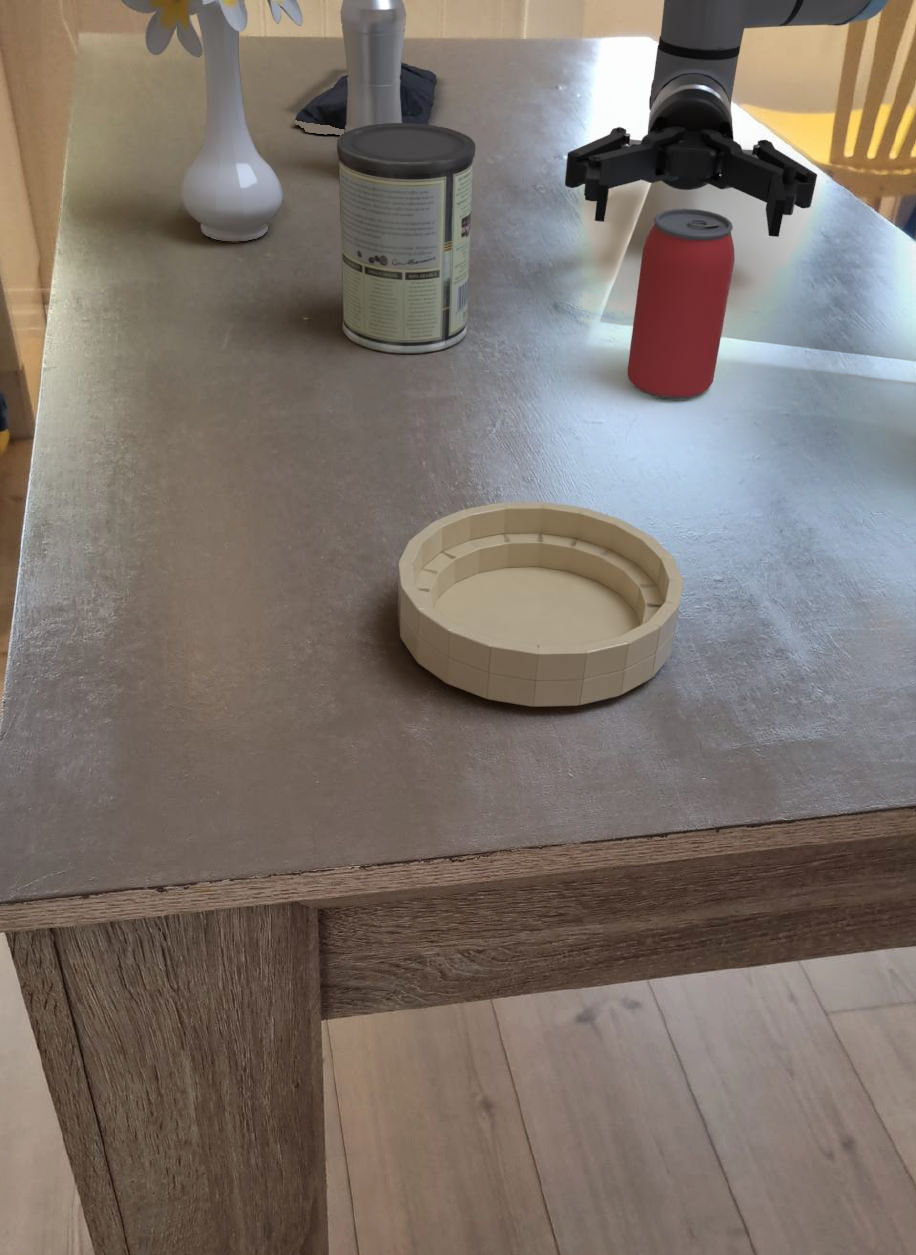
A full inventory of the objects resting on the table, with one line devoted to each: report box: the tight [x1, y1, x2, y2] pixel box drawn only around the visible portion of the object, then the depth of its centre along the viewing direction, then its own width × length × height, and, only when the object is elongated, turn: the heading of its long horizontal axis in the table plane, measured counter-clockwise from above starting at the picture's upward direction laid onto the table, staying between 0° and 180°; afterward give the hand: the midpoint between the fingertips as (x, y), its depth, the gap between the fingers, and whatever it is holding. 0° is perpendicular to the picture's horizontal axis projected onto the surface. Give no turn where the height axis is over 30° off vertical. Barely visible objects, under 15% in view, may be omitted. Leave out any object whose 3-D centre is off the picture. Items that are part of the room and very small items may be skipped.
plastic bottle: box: [339, 0, 407, 133], centre depth 129 cm, size 6×7×20 cm
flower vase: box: [120, 0, 304, 243], centre depth 113 cm, size 13×18×25 cm
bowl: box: [397, 501, 685, 708], centre depth 73 cm, size 16×16×4 cm
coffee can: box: [336, 123, 476, 355], centre depth 102 cm, size 10×10×14 cm
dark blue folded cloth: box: [294, 61, 438, 130], centre depth 152 cm, size 15×22×5 cm
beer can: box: [626, 208, 735, 400], centre depth 96 cm, size 7×7×12 cm
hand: (688, 211), depth 101 cm, fingers open, 13 cm apart
